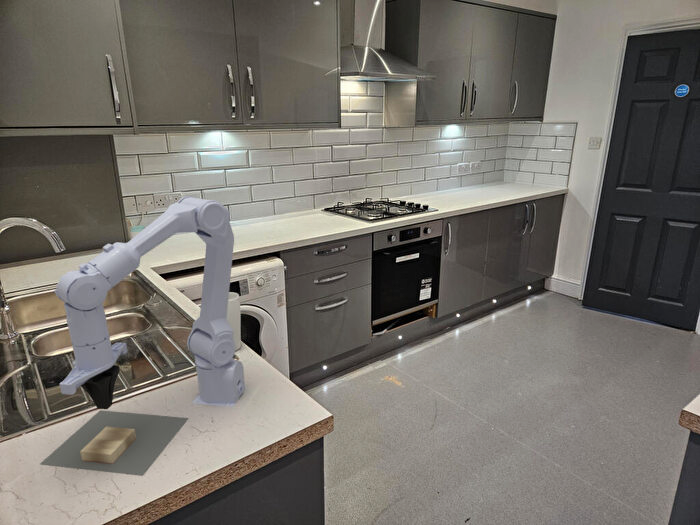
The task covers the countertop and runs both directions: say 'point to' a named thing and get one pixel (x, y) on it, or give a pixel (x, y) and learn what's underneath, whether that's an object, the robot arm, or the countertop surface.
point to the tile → (108, 445)
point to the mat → (136, 458)
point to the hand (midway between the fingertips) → (104, 406)
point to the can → (136, 230)
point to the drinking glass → (234, 318)
